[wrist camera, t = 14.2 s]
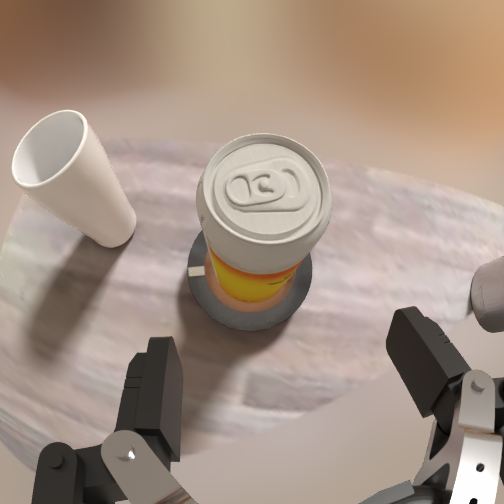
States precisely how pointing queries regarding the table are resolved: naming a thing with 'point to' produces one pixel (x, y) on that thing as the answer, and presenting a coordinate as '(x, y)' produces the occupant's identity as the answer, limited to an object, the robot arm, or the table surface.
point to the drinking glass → (73, 178)
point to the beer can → (261, 212)
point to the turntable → (239, 312)
